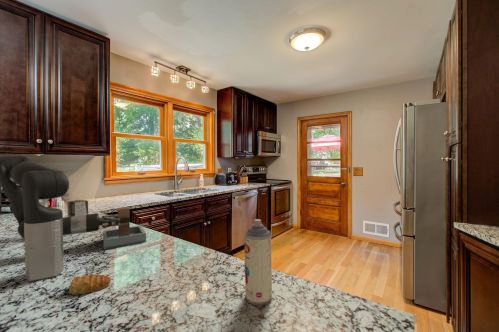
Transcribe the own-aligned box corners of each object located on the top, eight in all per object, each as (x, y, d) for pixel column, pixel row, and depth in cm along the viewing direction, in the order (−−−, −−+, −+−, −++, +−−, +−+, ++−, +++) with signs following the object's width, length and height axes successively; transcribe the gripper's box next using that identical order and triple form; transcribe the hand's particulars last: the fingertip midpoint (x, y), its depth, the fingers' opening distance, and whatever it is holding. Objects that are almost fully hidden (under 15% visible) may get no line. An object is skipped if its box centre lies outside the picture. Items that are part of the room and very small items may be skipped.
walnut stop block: (130, 239, 103) (129, 208, 103) (118, 240, 101) (118, 209, 101) (129, 236, 107) (128, 206, 107) (118, 238, 105) (117, 208, 105)
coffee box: (89, 230, 121) (88, 200, 121) (74, 233, 116) (74, 202, 116) (81, 228, 126) (80, 199, 126) (67, 231, 121) (66, 201, 121)
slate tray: (146, 242, 102) (145, 233, 102) (103, 250, 93) (103, 240, 93) (140, 233, 115) (140, 225, 115) (103, 239, 106) (103, 230, 106)
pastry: (113, 279, 69) (112, 267, 69) (107, 291, 63) (107, 278, 63) (76, 285, 66) (75, 272, 66) (66, 298, 60) (65, 284, 59)
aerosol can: (245, 290, 62) (244, 217, 62) (270, 289, 62) (269, 216, 62) (245, 305, 55) (243, 223, 55) (273, 305, 55) (272, 223, 55)
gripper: (84, 217, 90) (130, 212, 99) (86, 211, 102) (127, 207, 111) (84, 236, 90) (130, 229, 99) (86, 228, 102) (127, 222, 111)
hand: (128, 218), depth 105 cm, fingers open, 7 cm apart
